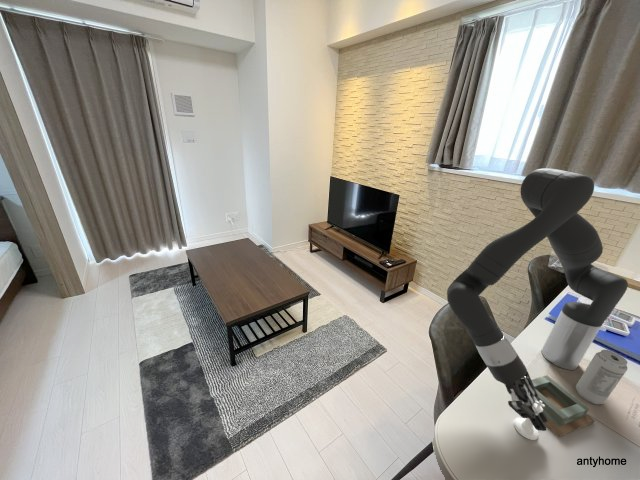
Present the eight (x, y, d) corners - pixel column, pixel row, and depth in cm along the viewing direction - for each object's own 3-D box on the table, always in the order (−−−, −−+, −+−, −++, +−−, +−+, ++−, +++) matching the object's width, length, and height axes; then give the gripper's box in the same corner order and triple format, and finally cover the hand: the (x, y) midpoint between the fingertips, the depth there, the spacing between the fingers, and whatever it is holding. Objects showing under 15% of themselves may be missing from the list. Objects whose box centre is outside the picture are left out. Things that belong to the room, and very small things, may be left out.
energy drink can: (598, 393, 74) (624, 354, 69) (606, 410, 70) (635, 369, 64) (571, 383, 77) (594, 344, 72) (577, 398, 72) (603, 358, 67)
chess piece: (514, 414, 67) (528, 387, 63) (538, 428, 64) (554, 400, 60) (512, 430, 63) (527, 402, 59) (537, 444, 60) (555, 416, 56)
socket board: (540, 379, 77) (545, 370, 76) (593, 422, 66) (600, 412, 64) (508, 389, 74) (513, 379, 72) (559, 436, 62) (566, 426, 61)
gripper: (511, 371, 56) (561, 450, 53) (519, 339, 66) (562, 405, 63) (477, 374, 61) (521, 446, 58) (489, 344, 71) (527, 405, 68)
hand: (542, 424), depth 61 cm, fingers closed on chess piece
